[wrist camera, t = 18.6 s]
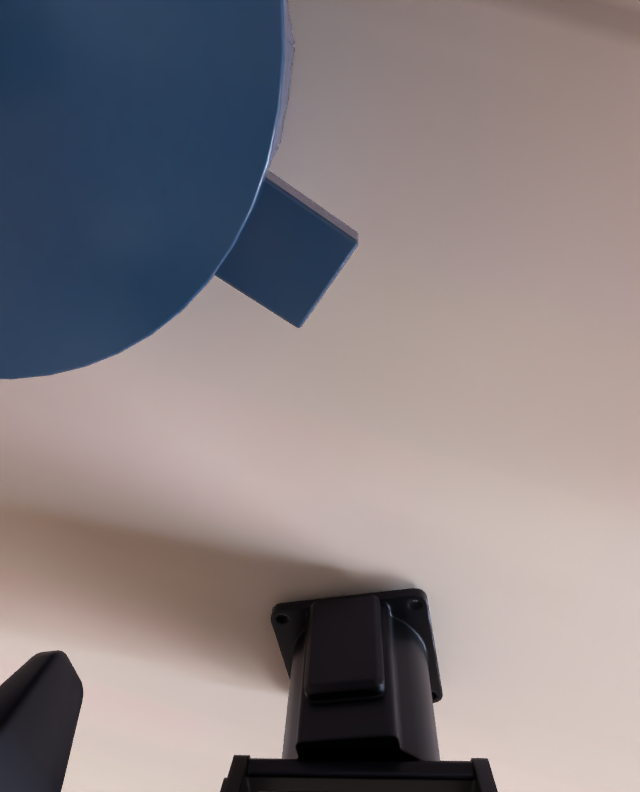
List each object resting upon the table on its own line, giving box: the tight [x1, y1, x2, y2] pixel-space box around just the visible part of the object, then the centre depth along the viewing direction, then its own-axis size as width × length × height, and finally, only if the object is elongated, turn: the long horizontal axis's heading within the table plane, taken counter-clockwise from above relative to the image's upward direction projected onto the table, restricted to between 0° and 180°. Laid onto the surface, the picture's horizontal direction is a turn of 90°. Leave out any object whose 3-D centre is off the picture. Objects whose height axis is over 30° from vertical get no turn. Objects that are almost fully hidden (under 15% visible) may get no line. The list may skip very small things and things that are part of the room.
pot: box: [215, 0, 358, 328], centre depth 14 cm, size 12×18×6 cm
